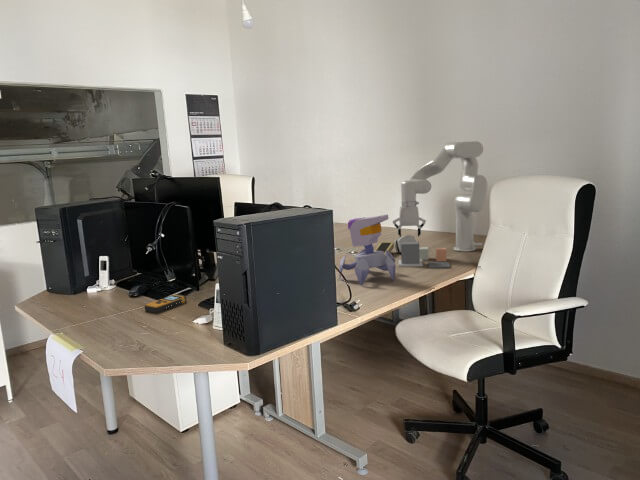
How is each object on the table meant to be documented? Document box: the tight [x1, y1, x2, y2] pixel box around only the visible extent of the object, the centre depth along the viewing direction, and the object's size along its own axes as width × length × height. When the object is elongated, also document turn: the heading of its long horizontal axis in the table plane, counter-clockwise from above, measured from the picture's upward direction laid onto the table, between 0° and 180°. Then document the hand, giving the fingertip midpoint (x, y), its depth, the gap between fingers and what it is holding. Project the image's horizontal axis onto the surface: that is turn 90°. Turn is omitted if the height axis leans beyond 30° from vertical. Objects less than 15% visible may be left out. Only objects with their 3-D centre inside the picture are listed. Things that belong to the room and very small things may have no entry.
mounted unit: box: [397, 241, 424, 268], centre depth 250 cm, size 12×10×11 cm
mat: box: [427, 261, 451, 269], centre depth 245 cm, size 10×10×1 cm
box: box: [374, 241, 395, 259], centre depth 272 cm, size 8×22×5 cm, turn 158°
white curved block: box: [394, 234, 420, 254], centre depth 283 cm, size 17×5×10 cm, turn 134°
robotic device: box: [338, 214, 397, 287], centre depth 226 cm, size 26×25×30 cm
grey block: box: [419, 246, 429, 261], centre depth 260 cm, size 5×5×6 cm
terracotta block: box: [435, 247, 447, 262], centre depth 256 cm, size 5×5×6 cm
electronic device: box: [144, 293, 187, 314], centre depth 203 cm, size 8×16×3 cm, turn 148°
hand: (409, 236), depth 261 cm, fingers open, 9 cm apart
